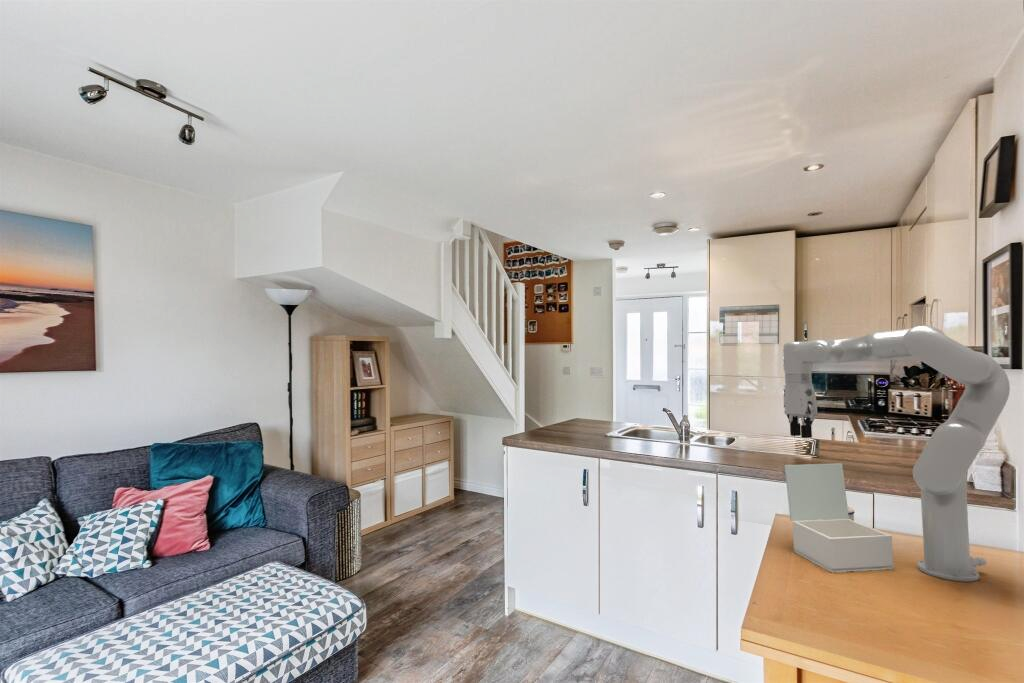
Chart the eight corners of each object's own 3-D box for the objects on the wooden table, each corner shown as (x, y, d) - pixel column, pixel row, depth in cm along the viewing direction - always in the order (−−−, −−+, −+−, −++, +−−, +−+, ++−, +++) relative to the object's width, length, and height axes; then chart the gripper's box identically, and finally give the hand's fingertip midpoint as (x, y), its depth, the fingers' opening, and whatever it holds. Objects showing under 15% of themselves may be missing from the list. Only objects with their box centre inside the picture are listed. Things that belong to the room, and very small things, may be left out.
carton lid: (848, 518, 156) (832, 514, 163) (842, 463, 159) (826, 461, 166) (792, 521, 154) (778, 516, 161) (786, 465, 157) (772, 463, 164)
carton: (849, 548, 156) (848, 518, 156) (893, 569, 140) (891, 535, 140) (794, 551, 154) (792, 521, 155) (831, 572, 138) (830, 538, 139)
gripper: (827, 380, 157) (830, 439, 156) (792, 379, 174) (795, 433, 173) (804, 380, 156) (807, 440, 155) (771, 379, 173) (774, 433, 172)
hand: (801, 436), depth 164 cm, fingers open, 4 cm apart
